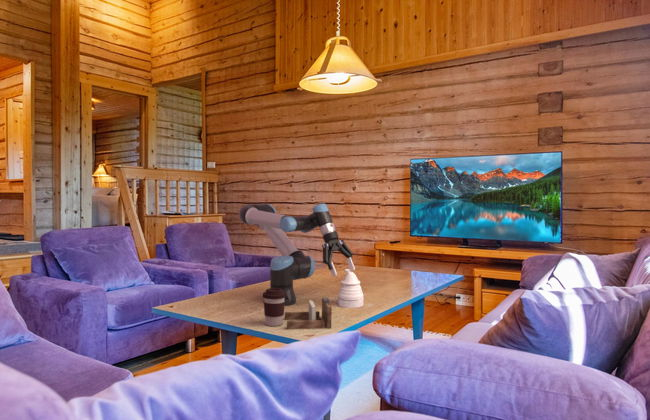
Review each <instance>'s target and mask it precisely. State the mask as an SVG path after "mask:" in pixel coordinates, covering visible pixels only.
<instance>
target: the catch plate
mask: <svg viewBox="0 0 650 420" xmlns="http://www.w3.org/2000/svg"><path fill="white" fill-rule="evenodd" d="M316 311H317V309H316V305H315V303H314V301H313V300H311V299H309V300H308V312H309V319H308V320H317V319H316Z"/></svg>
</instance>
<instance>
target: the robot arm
mask: <svg viewBox="0 0 650 420" xmlns="http://www.w3.org/2000/svg"><path fill="white" fill-rule="evenodd" d="M238 219H239V221H240V222H241V223H242V224H244V225H249V226H253V225H257V227H258V229H259V230H261V231H264V232H265V233H266V236H268V238H269V239H270V241H271V242H272V243H273V244H274V247H276V249H277V251H278V252H279V253H280V255H279V256H276V257H273V258H271V260H270V266H269V269H270V271H269V275H270V277H269V278H270V280H269V283H270V284H269V288H280V289H282V290H283V292H285V293H286V297H285V299H284V301H285V306H291V305H295V304H296V303H297V295H296V293H295V290H294V281H297V280H303V279H307V278H311V276H313V274H314V273H315V270H316V268H315V267H316V262H315V260H314V259H313V257H312V256H309V255H305V253H304V252H303V250H301V249H300V250H299V249H297V247H296V246H295V245H294V243H293V242H292V240H291V238H289V237H288V235H287V234H286V233H292V232H301V233H303V234H307V233H308V232H309V233H310V232H312V231H313V230H315V229H316V228H318V229H319V230H320V234H321V236H322V239H323V242H324V243H323V244H321V247H322V263H323V264H325V265H327V267H328V269H329V271H330V273H331V276H332V277H335V276H337V275H338V273H337V270H336V268H335V265H334V263H333V261H332V258H333V253H334V251H335V252H336V251H337V252H339V253H340V254H341V255H343V256H344V257H346V260H345V261H346V262H347V265H348V267H349V268H348V269H350V271H349V272H353V271H355V270H356V267H355V265H354V261H353V258H352V257H353V256H354V252H353V251H351V249H350V248H349V247H348V245H347V244H346V242H345V241H344V239H341V240H339V234H338V232H337V230H336V227H335V224H334V221H333V219H332V215H331V213H330V209H328V206H327V204H326V203H318V204H316V205H314V206H313V207H312V213H310V214H309V215H299V216H293V215H292V216H291V215H286V214H281V213H277V209H276V207H275V206H273V205H272V204H270V203H249V204H244V205H243V206H241V208H240V209H239V212H238ZM285 306H284V307H285Z"/></svg>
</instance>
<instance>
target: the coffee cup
mask: <svg viewBox="0 0 650 420" xmlns="http://www.w3.org/2000/svg"><path fill="white" fill-rule="evenodd" d="M285 297H286V293H285V292H283V290H282V289H280V288H270V287H268V288H267V289H266V291H264V292H262V298H263V308H264V309H263V311H264V312H263V313H264V317H265V318H264V319H265V325H266V326H268V327H279V326H282V325H283V323H284V316H285V301H284V299H285Z"/></svg>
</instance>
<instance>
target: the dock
mask: <svg viewBox="0 0 650 420" xmlns="http://www.w3.org/2000/svg"><path fill="white" fill-rule="evenodd" d="M332 310H333V309H332V305H331V300H330V298H329V297H322V298H321V316H320V311H317V310H316V320H309V311H286V312H285V311H284V320H285V321H286V329H287V330H304V329H306V330H307V329H325V326H326V328H327V329H332V315H333V313H332ZM320 317H321V319H320ZM288 320H289V321H288Z"/></svg>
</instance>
